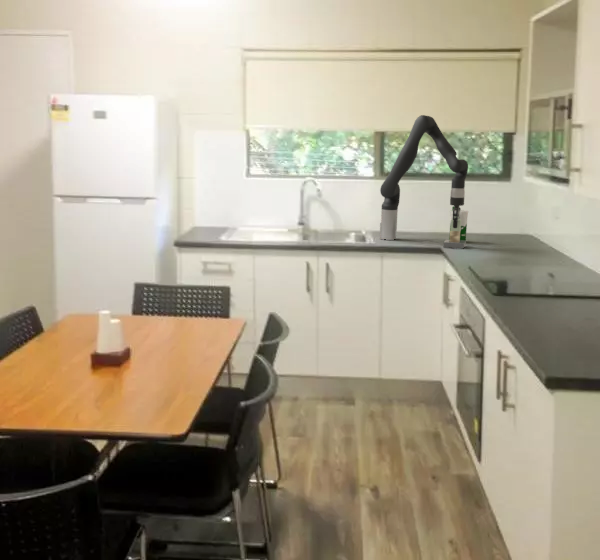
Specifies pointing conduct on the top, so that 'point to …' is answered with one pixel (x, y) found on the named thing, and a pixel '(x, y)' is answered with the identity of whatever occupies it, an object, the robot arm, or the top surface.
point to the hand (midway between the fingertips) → (455, 227)
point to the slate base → (454, 244)
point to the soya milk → (463, 223)
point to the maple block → (454, 236)
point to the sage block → (457, 225)
